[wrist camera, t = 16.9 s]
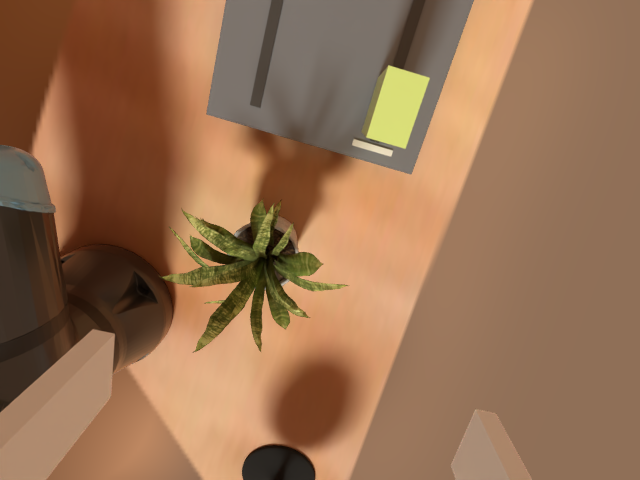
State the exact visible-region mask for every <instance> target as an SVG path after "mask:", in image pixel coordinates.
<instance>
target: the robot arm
mask: <svg viewBox="0 0 640 480" xmlns="http://www.w3.org/2000/svg"><path fill="white" fill-rule="evenodd" d="M54 212H56V210H55V206H54V205H53V204H52V203H51V199H50V195H49V192H48V188H47V184H46V179H45V175H44V171H43V168H42V166H41V164H40V163H39V162H38V160H37V159H36V158H35V157H33V156H32V155H31V154H29V153H27V152H25V151H23V150H21V149H18V148H14V147H9V146H4V145H0V480H46V479H47V478H48V477H49V475H50V474H51V473H52V471H53V470H54V469H55V468H56V466H57V465H58V464H59V463H60V461H61V460H62V459H63V457H64V456H65V455H66V453H67V452H68V451H69V450H70V448H71V447H72V446H73V445H74V443H75V442H76V441H77V439H78V438H79V437H80V436H81V434H82V433H83V432H84V430H85V429H86V428H87V427H88V425H89V424H90V423H91V422H92V420H93V419H94V418H95V417H96V415H97V414H98V413H99V411H100V410H101V409H102V408H103V406H104V405H105V404H106V403H107V401H108V400H109V399H110V397H111V389H112V375H113V374H114V373H116V372H118V371H120V370H122V369H123V368H125V367H127V366H129V365H130V364H133V363H135V362H137V361H139V360H141V359H143V358H145V357H146V356H147V355H149V354H150V353H151V352H152V351H153V350H154V349H155V348H156V347H157V346H158V345H159V343H160V342H161V341H162V340H163V338H164V337H165V336H166V334H167V332H168V330H169V328H170V325H171V321H172V314H173V309H172V301H171V297H170V294H169V291H168V289H167V286H166V285H165V283H164V281H163V279H162V278H161V277H160V275H159V274H158V273H157V271H156V270H155V269H154V268H153V267H152V266H151V265H150V264H149V263H147V262H146V261H145V260H144V259H142V258H141V257H139V256H138V255H136V254H134V253H132V252H130V251H128V250H126V249H123V248H120V247H116V246H112V245H104V244H95V245H88V246H84V247H81V248H78V249H76V250H74V251H72V252H70V253H68V254H66V255H64V256H62V257H60V251H59V245H58V238H57V232H56V225H55V219H54ZM451 467H452V470H453V473H454V476H455V479H456V480H532V479H531V477H530V475H529V473H528V471H527V470H526V468H525V466H524V464H523V462H522V460H521V459H520V457H519V455H518V453H517V451H516V449H515V448H514V446H513V444H512V442H511V440H510V439H509V437H508V435H507V433H506V431H505V429H504V427H503V425H502V424H501V422H500V420H499V418H498V417H497V414H496V413H492V412H487V411H482V410H478V409H476V410H475V412H474V414H473V416H472V418H471V421H470V423H469V425H468V428H467V430H466V432H465V435H464V437H463V439H462V441H461V444H460V446H459V448H458V450H457V453H456V455H455V457H454V460H453V462H452V464H451Z"/></svg>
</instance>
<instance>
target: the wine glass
mask: <svg viewBox="0 0 640 480" xmlns="http://www.w3.org/2000/svg"><path fill="white" fill-rule="evenodd" d="M242 476H243V480H315V473H314V469H313V467H312V465H311V463H310V462H309V460H308V459H307V458H306V457H305V456H304V455H302V454H301V453H299V452H298V451H296V450H293V449H291V448H288V447H283V446H266V447H262V448H259V449H257V450H255V451H254V452H252V453H251V454H250V455H249V456H248V457H247V458H246V460H245V462H244V464H243V468H242Z"/></svg>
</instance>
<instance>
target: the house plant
mask: <svg viewBox="0 0 640 480" xmlns="http://www.w3.org/2000/svg"><path fill="white" fill-rule="evenodd" d="M273 205H274V204H273ZM273 205H272V206H271V208H270V210H269V212H268V213H267V214H266V210H265V207H264V204H263V199H262V200H261V202H260V203H258V204H257V205H256V206H255V207H254V209H253V211H252V213H251V218H250V223H249V224H247V225H245V226H243V227H242V228H240V229H239V230H237V231H236V233H235V234H234V235H233V234H231V233H230V232H229V231H227V230H226V229H224V228H222V227H220V226H217V225H214V224H210V223H208V222H205V221H204V220H202V219H203V218H202V219H201V220H199V219H198V218H195V217H193V216H192V215H190V214H188V213H186V212H185V211H183V210H182V211H183V213H184V215H185V216H186V217H187V219H188V220H189V222H190V223H191V224H192V225H193V227H194V228H195V229H196V230H197V231H198V232H199V233H200V234H201V235H202V236H203V237H205V238H206V239H207V240H208V241H210V242H211V243H212V244H214V245H215V246H217V247H218V248H220V249H221V250H222V251H224V252H226V253H227V255H226V254H223V253H221V252H219V251H216V250H214V249H213V248H212V247H210V246H209V245H207V244H206V243H205V242H203V241H202V240H200V239H197V238H194V237H192V236H191V235H190V241H191V247H192V249H193V251H194V252H195V253H196V254H197V255H199V256H200V257H202V258H205V259H208V260H211V261H214V262H217V263H220V264H226V265H222V266H211V267H209V266H208V265H206V264H205V263H204V262H203V261H202V260H201V259H200V258H199V257H198V256H197V255H196V254H195V253H194V252H193V251H192V250H191V249H190V248H189V247H188V245H187V244H186V243H185V242H184V241H183V240H182V239H181V238H180V237H179V236H178V235H177V234H176V233H175V232H174V231H173V230H172V229H171V228H170V227H169V226H168V227H169V228H170V229H171V230H172V232H173V233H174V234H175V236H176V237H177V238H178V239H179V241H180V242H181V244H182V245H183V247H184V249H185V250H186V251H187V252H188V254H189V255H190V256H191V257H192V258H193V259H194V260H195V261H196V262H197V263H198V264H200V265H201V266H202V267H200V268H198V269H195V270H193V271H191V272H188V273H184V274H171V275H168V276H164V277H161V276H160V277H161V278H163V279H165V280H167V281H171V282H174V283H177V284H186V285H193V286H189V287H202V286H211V285H216V284H226V283H234V282H239V281H240V283H239V284H238V285H237V286H236V288H235V289H234V290H233V291H232V292H231V294H230V295H229V296H228V298H227V299H226V300H222V301H212V302H206V303H222V304H221V305H220V306H219V307H218V309H217V310H216V311H215V312H214V313H213V314H212V315H211V317H210V319H209V322H208V325H207V328H206V331H205V332H204V334H203V335H202V337H201V338H200V339H199V341H198V343H197V347H196V350H195V351H194V352H196V351H198V350H200V349H201V348H203V347H204V346H206V345H207V344H209V343H210V342H211V341H212V340H213V339H214V338H215V337H216V336H217V335H219V334H220V333H221V332H222V330H223V329H224V328H225V327H226V326H227V325H228V324H229V323H230V322H231V320H232V319H233V318H235V317H236V316H237V315H238V314H239V312H240V311H241V310H242V309H243V308H244V306H245V304H246V302H247V301H248V299H249V297H250V295H251V294H252V292H253V291H254V289H255V291H254V295H253V300H252V308H251V316H250V318H251V328H252V333H253V337H254V340H255V342H256V344H257V346H258V348H259V350H260V352H261V346H262V342H261V332H262V306H263V300H264V291H265V290H266V294H267V298H268V302H269V306H270V310H271V314H272V316H273V319H274V320H275V321H276V323H277V324H279V325H280V326H281V327H283V328H284V329H286V328H287V326H288V325H289V323H290V317H289V313H288V311H290V312H291V313H293V314H295V315H297V316H301V317H306V318H310V317H308V316H307V315H306V313H305V312H304V311H303V310H301V309H300V308H298V306H297V304H296V303H295V302H294V301H293V300H292V299H291V298H290V297H289V296H288V295H287V294H286V293H285V292H284V290H283V288H282V286H283V285H284V284H286V283H287V282H289V281H291V282H293V283H295V284H296V285H298V286H300V287H302V288H304V289H307V290H310V291H322V290H333V289H340V288H342V287H345V286H348V285H339V284H326V283H317V282H312V281H307V280H304V279H301V278H299V277H297V276H310V275H312V274H314V273H315V272H316V271H317V270H318V269H319V267H320V266H321V265H323V264H322V263H321V262H320V261H319V260H318V259H317V258H316V257H315V256H314V255H313V254H310V253H307V252H299V251H298V242H297V234H296V231H295V229H294V227H293V224H291V223H290V222H289V221H288V220H286V219H285V218H282V217H280V216H278V213H279V211H280V208H281V201H280V202H279V203H278V204H277V206H276V207H275V208H274V210H273ZM181 209H182V208H181ZM287 310H288V311H287ZM192 353H193V352H192ZM261 353H262V352H261Z"/></svg>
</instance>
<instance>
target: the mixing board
mask: <svg viewBox="0 0 640 480" xmlns="http://www.w3.org/2000/svg"><path fill="white" fill-rule="evenodd" d="M473 1H474V0H226V4H225V10H224V16H223V21H222V27H221V33H220V39H219V44H218V50H217V56H216V62H215V67H214V73H213V79H212V85H211V90H210V96H209V102H208V107H207V113H206V114H207V115H211V116H214V117H217V118H221V119H224V120H228V121H231V122H234V123H238V124H241V125H245V126H248V127H251V128H255V129H258V130H262V131H265V132H268V133H272V134H275V135H279V136H282V137H285V138H289V139H292V140H296V141H299V142H302V143H306V144H309V145H313V146H316V147H319V148H323V149H326V150H330V151H333V152H336V153H340V154H343V155H347V156H350V157H353V158H357V159H360V160H364V161H367V162H370V163H374V164H377V165H381V166H384V167H387V168H391V169H394V170H398V171H401V172H404V173H408V174H412V172H413V169H414V166H415V163H416V160H417V158H418V155H419V152H420V149H421V146H422V144H423V141H424V138H425V135H426V132H427V130H428V127H429V124H430V121H431V118H432V116H433V113H434V110H435V107H436V105H437V102H438V99H439V96H440V93H441V91H442V88H443V85H444V82H445V79H446V77H447V74H448V71H449V68H450V65H451V63H452V60H453V57H454V54H455V52H456V49H457V46H458V43H459V40H460V38H461V35H462V32H463V29H464V26H465V24H466V21H467V18H468V15H469V12H470V10H471V7H472V4H473ZM388 65H389V66H392V67H396V68H399V69H402V70H406V71H409V72H412V73H416V74H419V75H422V76H426V77H429V78H430V79H429V82H428V85H427V88H426V91H425V94H424V97H423V99H422V102H421V105H420V108H419V111H418V114H417V117H416V120H415V123H414V125H413V128H412V131H411V134H410V137H409V140H408V143H407V146H406V149H404V148H401V147H397V146H394V145H390V144H387V143H384V142H380V141H377V140H374V139H370V138H367V137H365V135H364V134H363V133H362V129H363V125H364V122H365V119H366V115H367V112H368V109H369V106H370V102H371V99H372V96H373V92H374V89H375V86H376V83H377V79H378V77H379V76H380V75H381V73H382V72H383V71H384V70H385V69H386V68H387V67H388Z"/></svg>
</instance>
